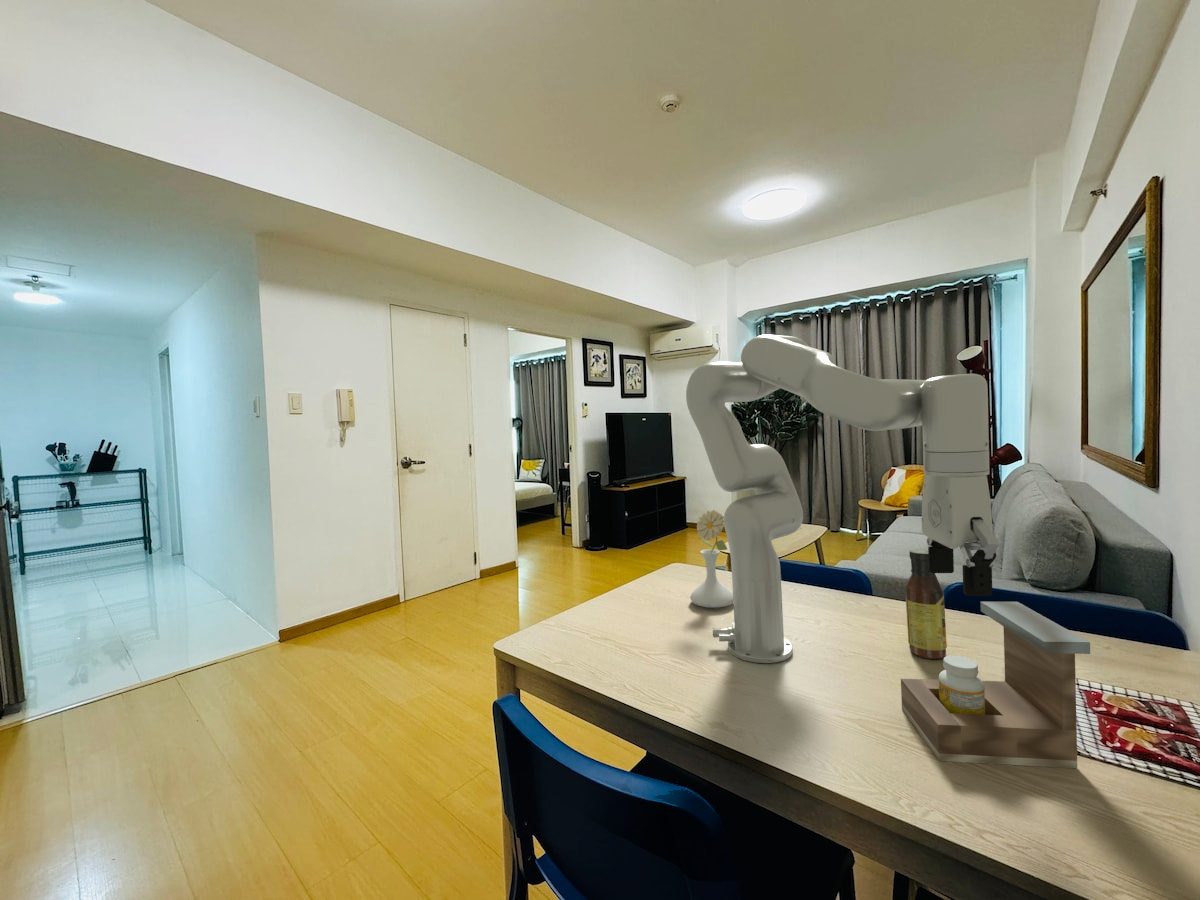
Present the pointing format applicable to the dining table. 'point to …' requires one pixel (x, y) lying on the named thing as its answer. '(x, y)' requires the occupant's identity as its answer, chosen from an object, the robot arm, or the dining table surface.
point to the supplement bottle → (961, 686)
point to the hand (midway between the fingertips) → (958, 583)
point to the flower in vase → (711, 564)
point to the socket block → (1010, 699)
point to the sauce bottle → (925, 609)
